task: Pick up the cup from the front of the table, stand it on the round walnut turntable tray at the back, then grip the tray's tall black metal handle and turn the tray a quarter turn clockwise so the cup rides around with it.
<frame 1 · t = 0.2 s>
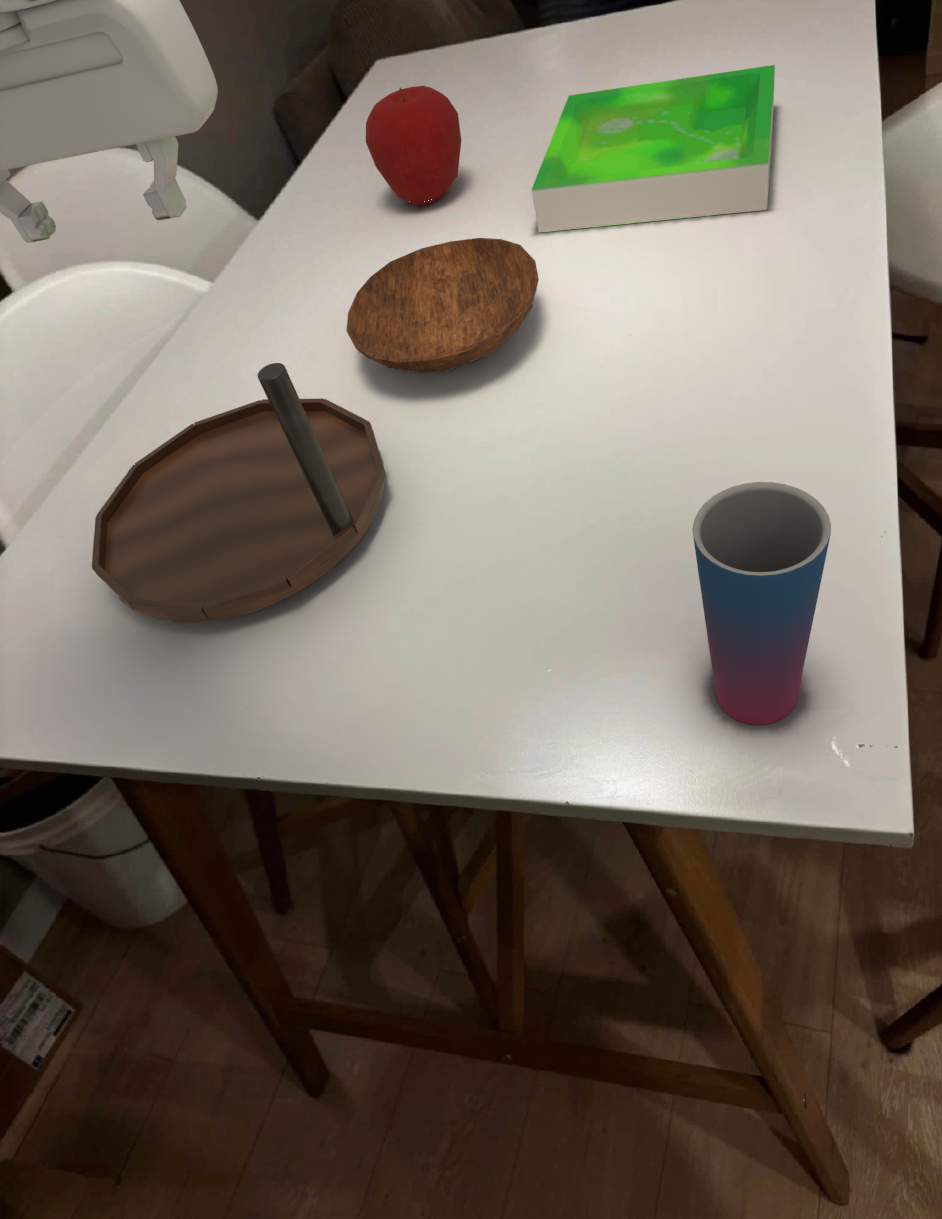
hand: (106, 226, 55), 29 cm above the table, tool pointing down, fingers open, 8 cm apart
bowl: (453, 339, 92), on the table
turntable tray: (202, 435, 73), point 10 cm above the table, hinge at 0.0°
green flat block: (660, 170, 106), on the table
apple: (430, 198, 115), on the table
cup: (755, 693, 57), on the table
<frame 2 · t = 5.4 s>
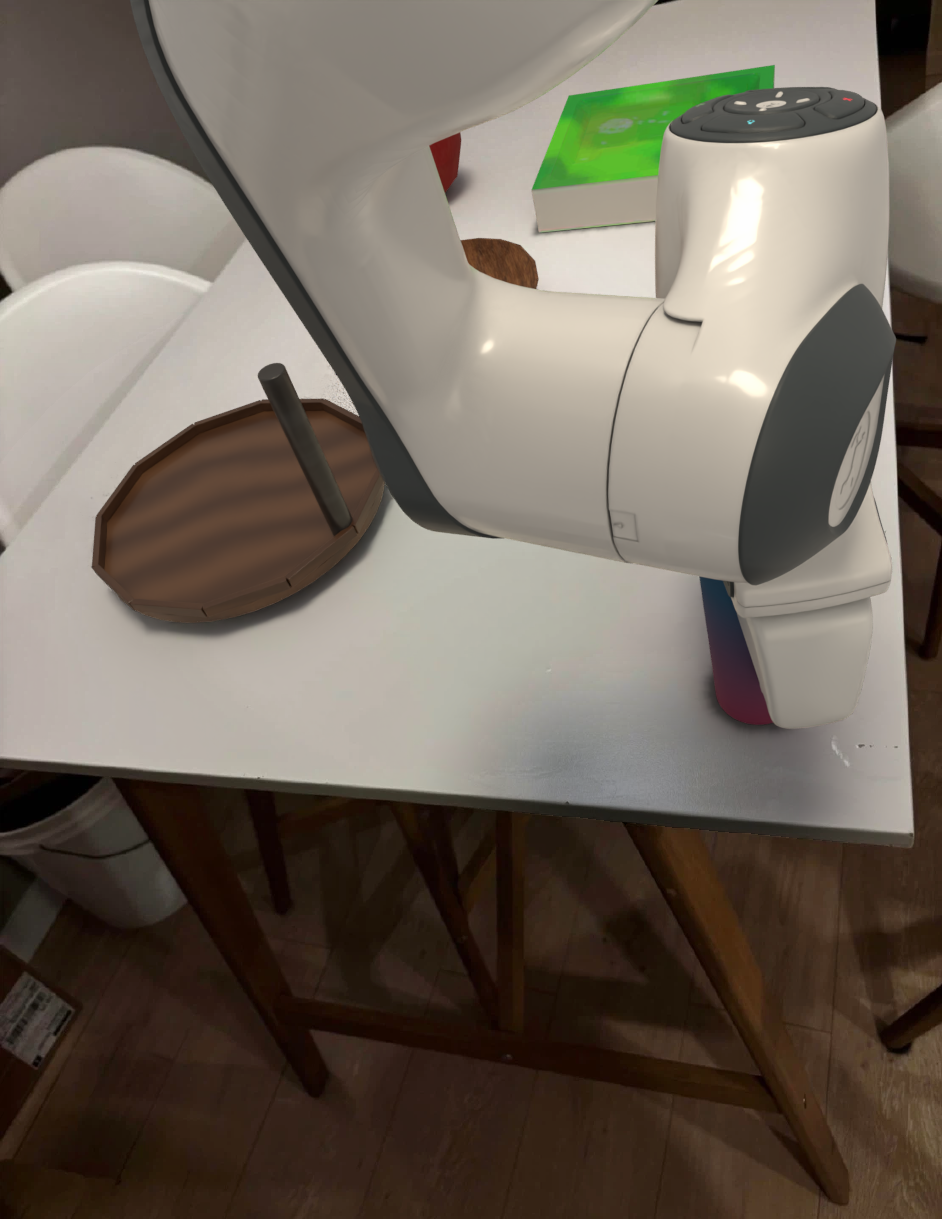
hand: (757, 634, 53), 6 cm above the table, tool pointing down, fingers closed on cup, 6 cm apart
cup: (756, 693, 57), on the table, touching gripper
everything else where it was.
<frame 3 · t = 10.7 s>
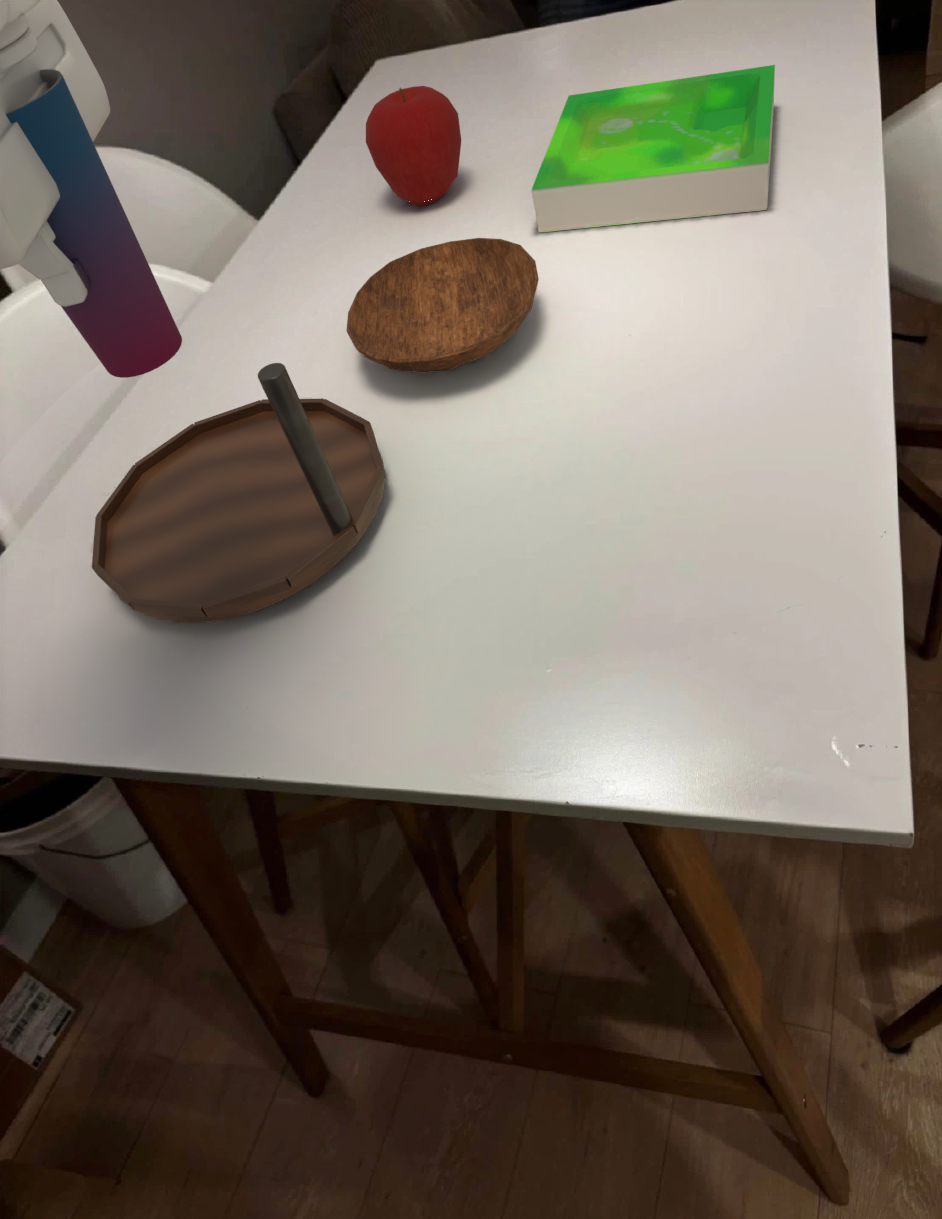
hand: (92, 265, 51), 29 cm above the table, tool pointing down, fingers closed on cup, 6 cm apart
cup: (146, 356, 56), point 23 cm above the table, touching gripper
everything else where it was.
when the fingers open (9 cm above the table, at t = 16.1 s): cup stays where it is, resting on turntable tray.
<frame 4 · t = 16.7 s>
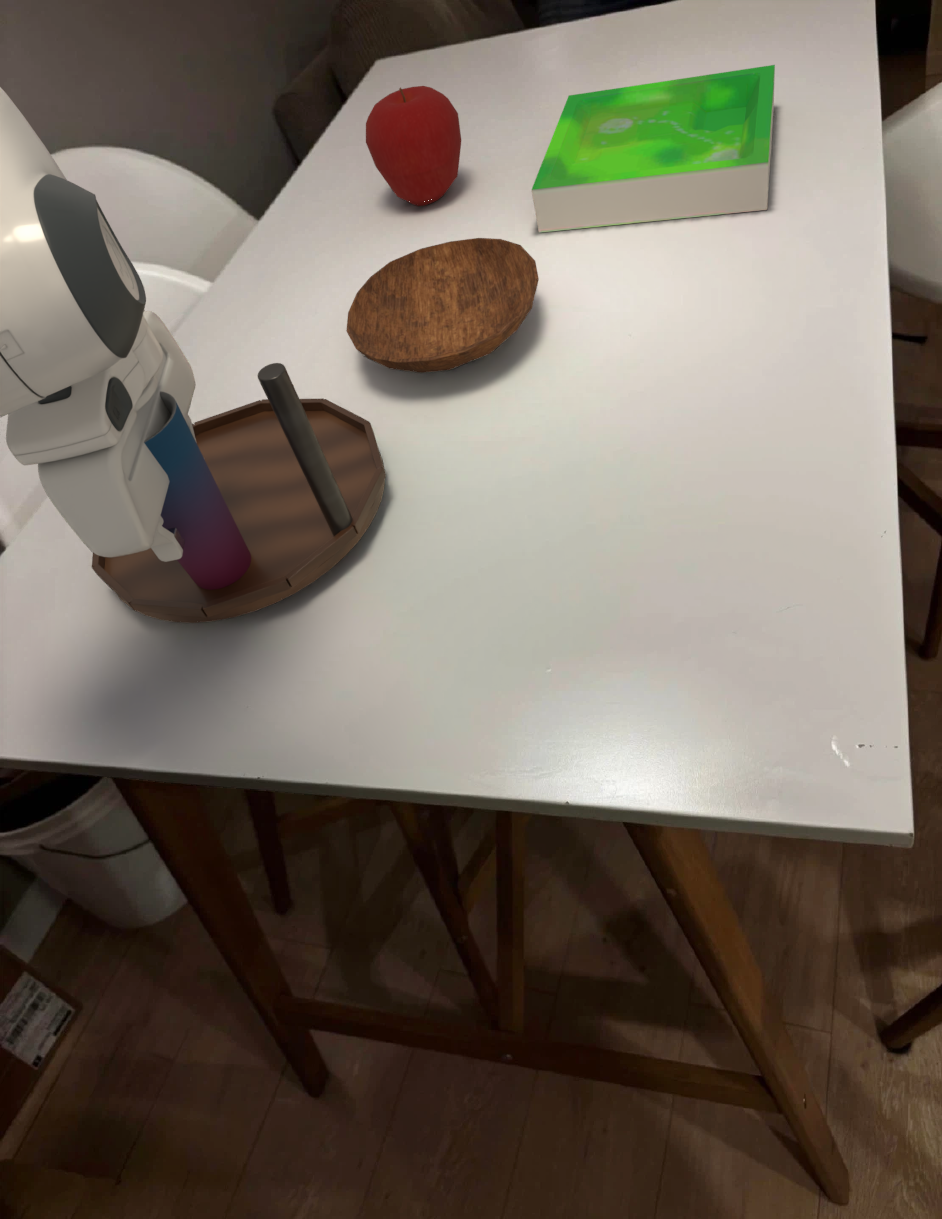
hand: (185, 510, 68), 9 cm above the table, tool pointing down, fingers open, 8 cm apart
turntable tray: (202, 435, 73), point 10 cm above the table, hinge at 0.1°, touching cup
cup: (223, 568, 73), point 2 cm above the table, touching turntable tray
everything else where it was.
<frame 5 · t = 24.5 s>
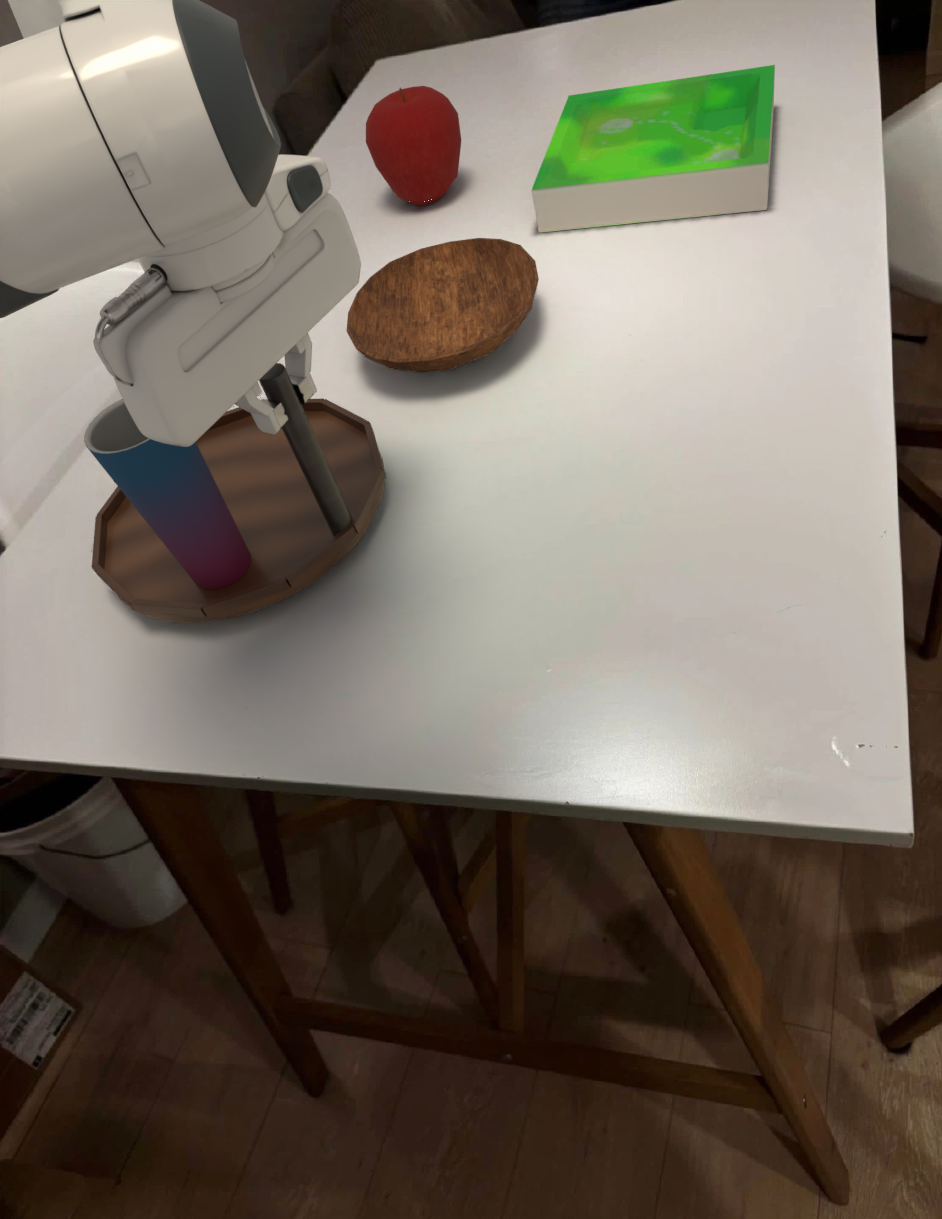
hand: (289, 412, 63), 15 cm above the table, tool pointing down, fingers closed on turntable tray, 2 cm apart
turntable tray: (202, 435, 73), point 10 cm above the table, hinge at 0.1°, touching cup, gripper
everything else where it was.
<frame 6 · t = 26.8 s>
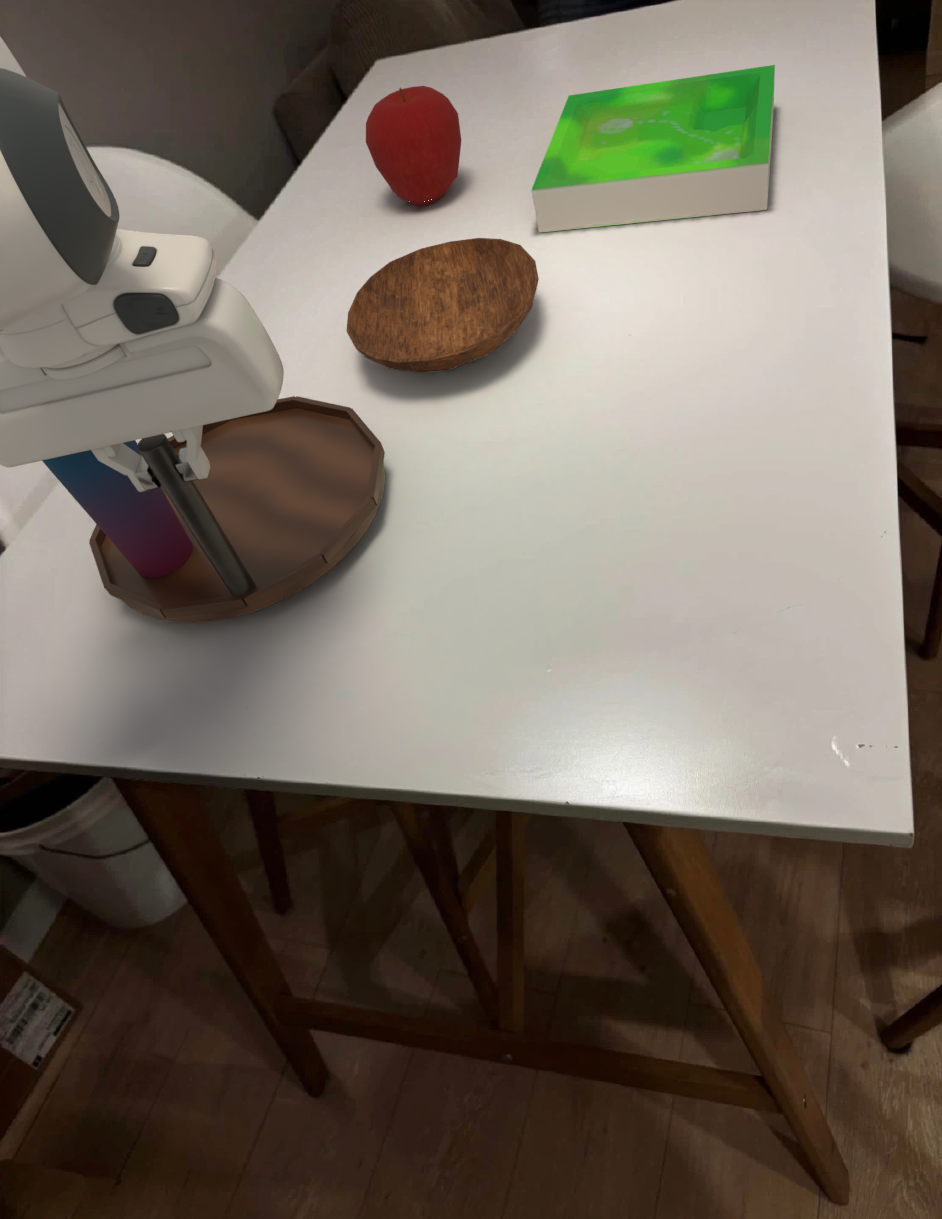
hand: (176, 479, 61), 15 cm above the table, tool pointing down, fingers closed on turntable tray, 2 cm apart
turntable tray: (202, 435, 73), point 10 cm above the table, hinge at 45.8°, touching cup, gripper
cup: (165, 558, 75), point 2 cm above the table, touching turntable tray
everything else where it was.
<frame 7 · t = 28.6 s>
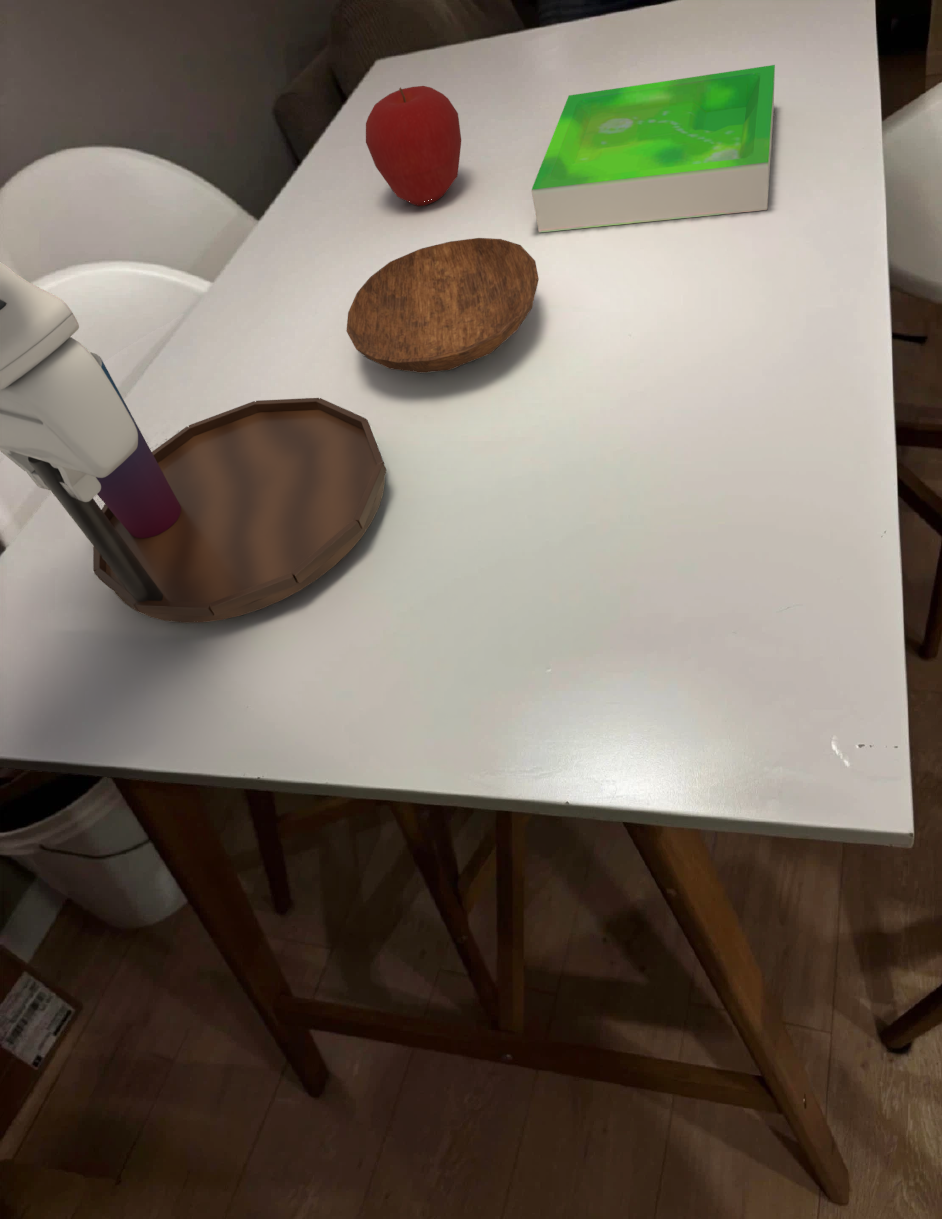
hand: (71, 489, 63), 14 cm above the table, tool pointing down, fingers closed
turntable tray: (202, 435, 73), point 10 cm above the table, hinge at 87.5°, touching cup
cup: (155, 519, 79), point 2 cm above the table, touching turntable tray
everything else where it was.
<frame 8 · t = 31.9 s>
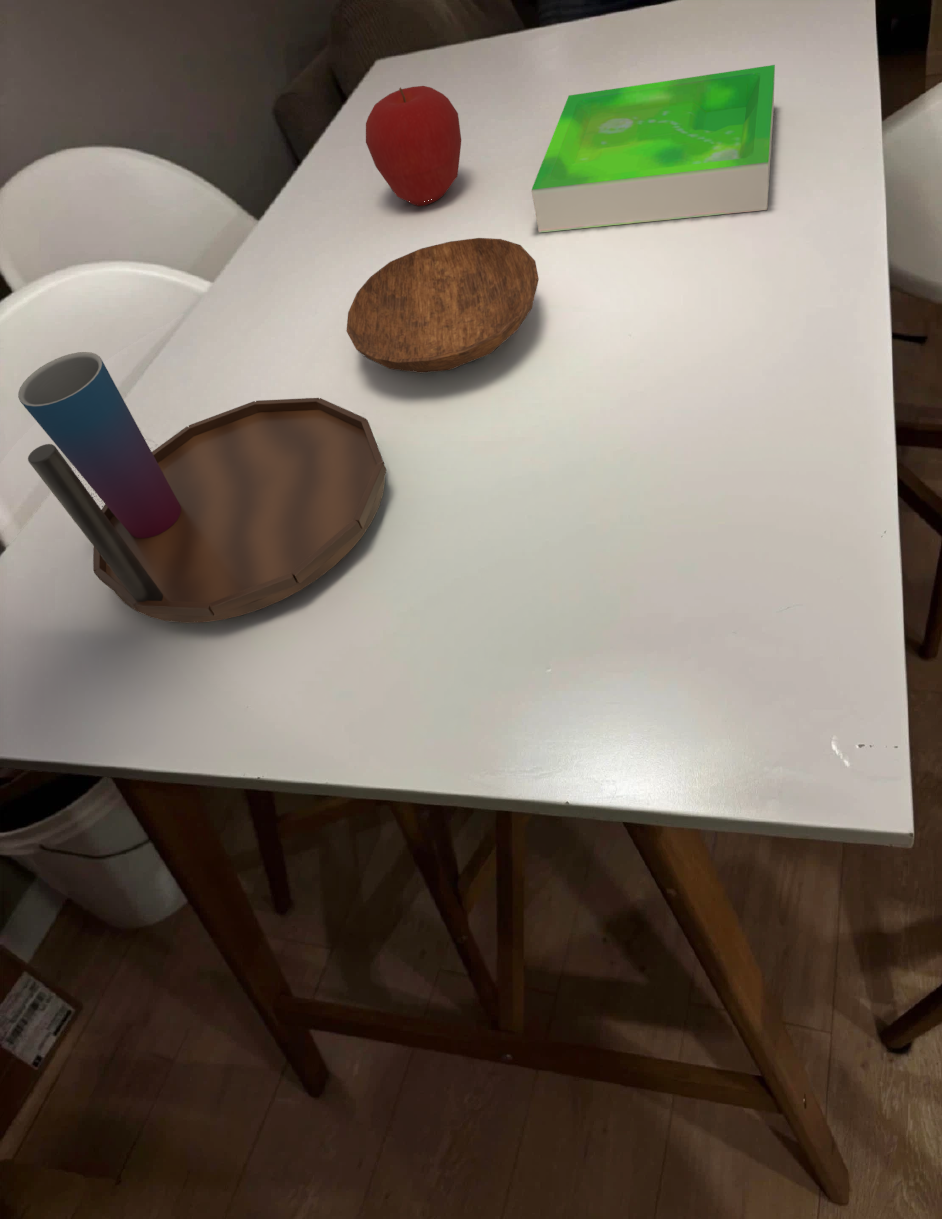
nothing on the table moved.
at the end: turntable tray at +88° (first picture: +0°); cup 0.4 cm from the target spot on the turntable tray, point 2.4 cm above the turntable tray's base; cup tilted 0° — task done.
